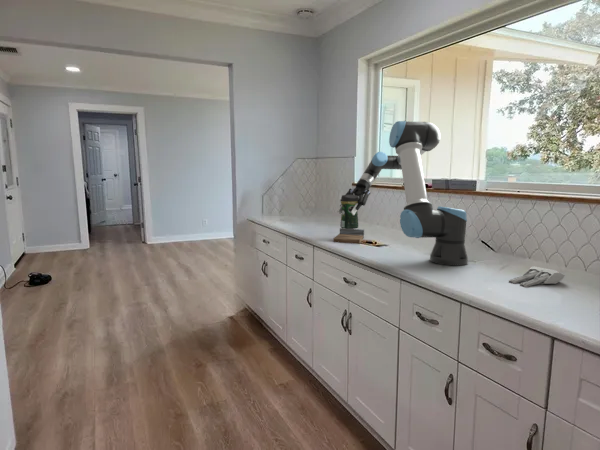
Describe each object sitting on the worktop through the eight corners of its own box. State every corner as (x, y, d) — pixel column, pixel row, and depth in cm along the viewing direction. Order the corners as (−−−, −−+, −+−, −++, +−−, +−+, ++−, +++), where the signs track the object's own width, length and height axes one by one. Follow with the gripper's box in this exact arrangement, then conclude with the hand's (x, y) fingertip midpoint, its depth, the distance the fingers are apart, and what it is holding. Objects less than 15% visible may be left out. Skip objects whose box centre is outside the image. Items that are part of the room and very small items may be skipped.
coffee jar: (353, 226, 215) (355, 194, 212) (360, 228, 207) (361, 195, 205) (338, 227, 212) (339, 194, 209) (343, 229, 204) (344, 195, 202)
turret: (503, 287, 134) (503, 274, 133) (542, 274, 141) (542, 262, 140) (529, 295, 125) (529, 282, 124) (570, 281, 132) (570, 268, 131)
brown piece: (359, 243, 200) (359, 234, 200) (333, 242, 204) (333, 232, 204) (364, 238, 219) (364, 229, 218) (340, 236, 223) (340, 228, 222)
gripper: (383, 188, 209) (364, 219, 201) (352, 187, 225) (334, 215, 216) (377, 179, 205) (358, 210, 196) (347, 178, 220) (328, 206, 212)
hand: (345, 212), depth 206 cm, fingers closed on coffee jar, 9 cm apart
